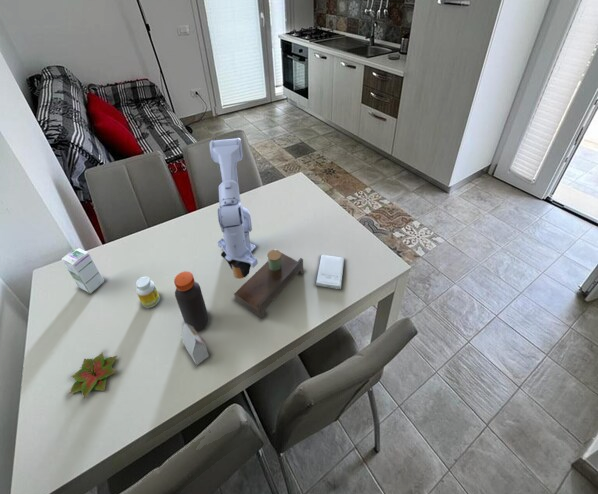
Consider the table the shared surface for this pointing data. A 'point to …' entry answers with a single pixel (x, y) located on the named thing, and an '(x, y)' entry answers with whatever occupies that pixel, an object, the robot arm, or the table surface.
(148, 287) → the supplement bottle
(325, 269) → the hard drive
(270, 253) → the sage jar
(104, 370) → the red green leafy plant
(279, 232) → the table surface
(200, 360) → the white gable top packet
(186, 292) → the vinegar
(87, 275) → the syrup box
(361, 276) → the table surface
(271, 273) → the spice shelf
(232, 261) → the ochre jar
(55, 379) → the table surface
